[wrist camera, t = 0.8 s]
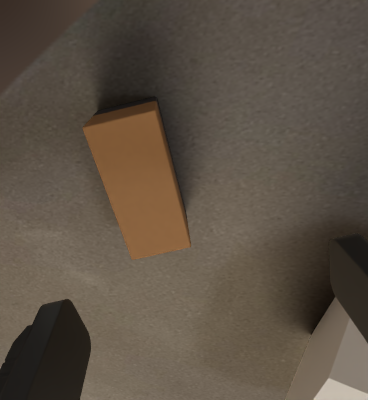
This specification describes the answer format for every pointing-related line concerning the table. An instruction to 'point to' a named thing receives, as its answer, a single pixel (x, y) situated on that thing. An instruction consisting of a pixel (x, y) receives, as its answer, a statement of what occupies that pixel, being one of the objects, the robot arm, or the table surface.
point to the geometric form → (332, 361)
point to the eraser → (139, 177)
